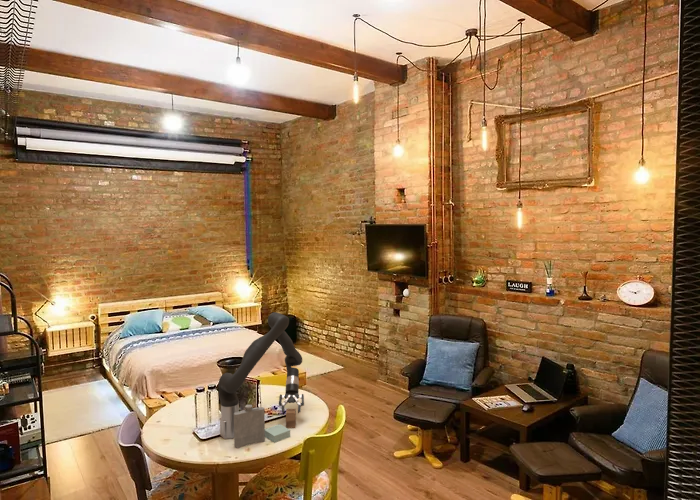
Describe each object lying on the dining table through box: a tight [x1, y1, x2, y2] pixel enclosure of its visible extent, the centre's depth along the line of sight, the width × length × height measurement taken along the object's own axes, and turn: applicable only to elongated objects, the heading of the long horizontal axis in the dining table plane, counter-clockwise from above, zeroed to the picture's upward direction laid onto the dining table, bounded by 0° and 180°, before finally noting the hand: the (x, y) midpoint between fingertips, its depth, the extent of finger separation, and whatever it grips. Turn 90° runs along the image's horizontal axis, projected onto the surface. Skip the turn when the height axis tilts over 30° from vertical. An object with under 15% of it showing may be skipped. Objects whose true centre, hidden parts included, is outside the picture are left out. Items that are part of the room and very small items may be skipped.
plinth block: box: [265, 423, 291, 444], centre depth 247 cm, size 10×10×4 cm
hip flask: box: [233, 404, 266, 449], centre depth 239 cm, size 16×4×20 cm, turn 119°
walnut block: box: [285, 408, 297, 429], centre depth 259 cm, size 5×5×9 cm
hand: (291, 412), depth 260 cm, fingers open, 8 cm apart
